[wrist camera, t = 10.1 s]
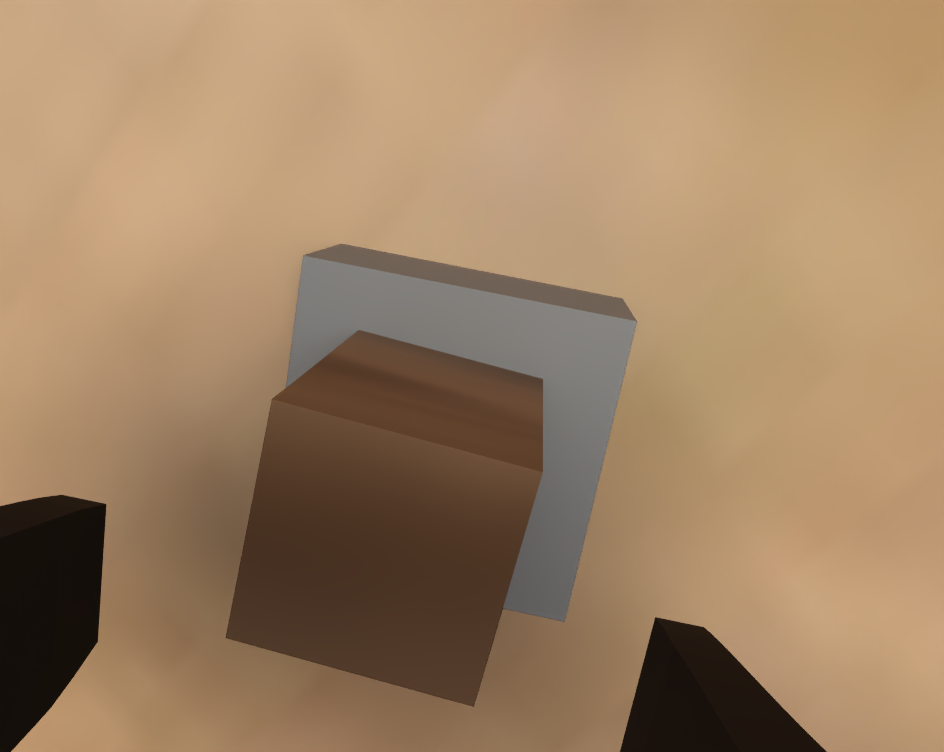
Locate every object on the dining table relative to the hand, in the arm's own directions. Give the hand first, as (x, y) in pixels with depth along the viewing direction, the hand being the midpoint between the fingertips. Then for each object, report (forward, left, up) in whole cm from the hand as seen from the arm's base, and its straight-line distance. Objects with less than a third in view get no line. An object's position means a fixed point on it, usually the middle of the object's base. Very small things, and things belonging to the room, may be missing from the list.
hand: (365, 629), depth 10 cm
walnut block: (0, 0, -7) cm, 7 cm away
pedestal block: (0, 0, -11) cm, 11 cm away
